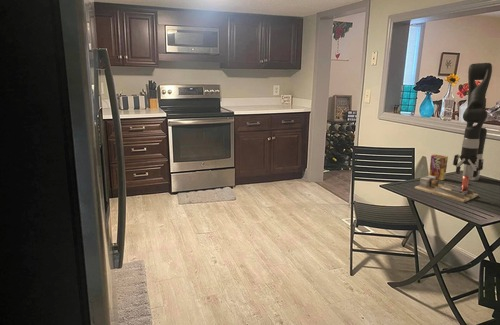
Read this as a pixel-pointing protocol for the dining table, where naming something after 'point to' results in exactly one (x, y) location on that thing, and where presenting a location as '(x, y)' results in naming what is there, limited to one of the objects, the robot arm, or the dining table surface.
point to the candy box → (438, 166)
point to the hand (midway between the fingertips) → (466, 175)
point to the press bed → (444, 190)
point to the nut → (434, 183)
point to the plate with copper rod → (463, 186)
